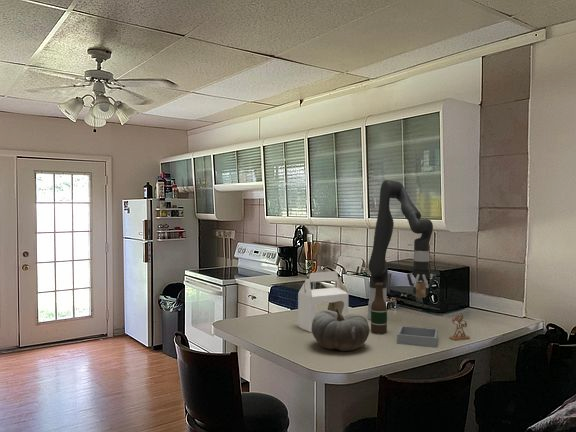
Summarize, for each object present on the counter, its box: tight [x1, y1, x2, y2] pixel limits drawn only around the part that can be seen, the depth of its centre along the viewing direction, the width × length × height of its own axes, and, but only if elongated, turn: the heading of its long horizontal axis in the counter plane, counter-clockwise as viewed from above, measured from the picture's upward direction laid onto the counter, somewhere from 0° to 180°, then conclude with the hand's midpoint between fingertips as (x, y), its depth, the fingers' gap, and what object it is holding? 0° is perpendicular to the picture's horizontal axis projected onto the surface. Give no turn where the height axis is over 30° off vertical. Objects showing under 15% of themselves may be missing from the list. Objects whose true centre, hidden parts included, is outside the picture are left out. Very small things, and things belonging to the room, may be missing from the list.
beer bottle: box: [370, 283, 388, 335], centre depth 239 cm, size 8×8×24 cm
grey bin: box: [396, 325, 439, 348], centre depth 225 cm, size 17×17×4 cm
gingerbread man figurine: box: [448, 312, 471, 341], centre depth 229 cm, size 9×4×12 cm, turn 112°
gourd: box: [311, 308, 371, 352], centre depth 215 cm, size 25×25×17 cm
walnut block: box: [415, 281, 427, 299], centre depth 240 cm, size 4×4×7 cm
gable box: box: [297, 270, 349, 334], centre depth 248 cm, size 22×13×28 cm, turn 118°
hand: (421, 294), depth 240 cm, fingers closed on walnut block, 4 cm apart
